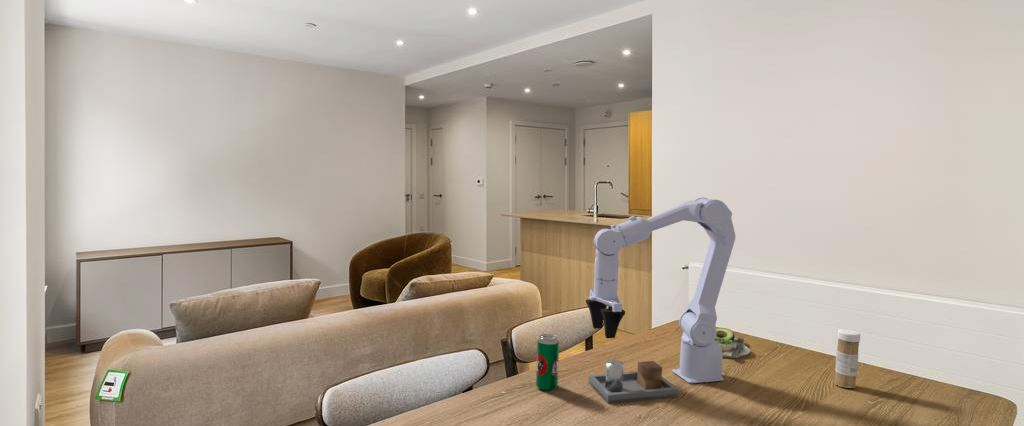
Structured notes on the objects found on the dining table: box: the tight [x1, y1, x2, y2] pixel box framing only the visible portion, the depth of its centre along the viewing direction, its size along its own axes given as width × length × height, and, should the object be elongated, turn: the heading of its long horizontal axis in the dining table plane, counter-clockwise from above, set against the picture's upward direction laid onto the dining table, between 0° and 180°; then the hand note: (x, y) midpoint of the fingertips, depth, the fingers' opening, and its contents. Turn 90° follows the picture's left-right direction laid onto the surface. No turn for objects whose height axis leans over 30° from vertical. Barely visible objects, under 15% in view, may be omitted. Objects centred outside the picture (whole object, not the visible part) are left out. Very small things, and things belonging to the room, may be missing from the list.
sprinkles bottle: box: [833, 328, 861, 389], centre depth 125 cm, size 5×5×14 cm
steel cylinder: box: [604, 359, 625, 392], centre depth 119 cm, size 4×4×6 cm
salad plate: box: [714, 327, 751, 359], centre depth 149 cm, size 19×18×5 cm
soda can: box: [535, 333, 560, 392], centre depth 121 cm, size 5×5×12 cm
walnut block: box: [637, 360, 663, 390], centre depth 122 cm, size 4×4×5 cm
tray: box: [587, 371, 679, 404], centre depth 121 cm, size 17×11×2 cm, turn 104°
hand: (603, 332), depth 129 cm, fingers open, 7 cm apart
